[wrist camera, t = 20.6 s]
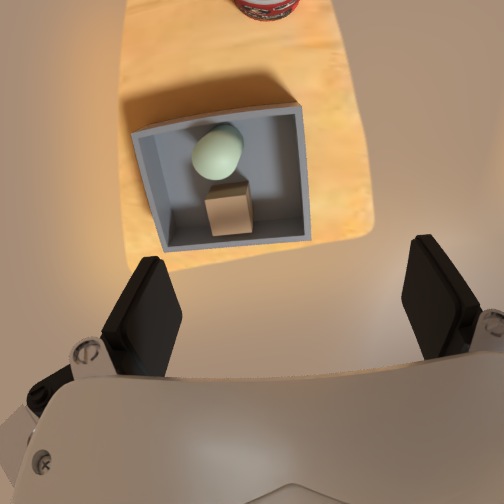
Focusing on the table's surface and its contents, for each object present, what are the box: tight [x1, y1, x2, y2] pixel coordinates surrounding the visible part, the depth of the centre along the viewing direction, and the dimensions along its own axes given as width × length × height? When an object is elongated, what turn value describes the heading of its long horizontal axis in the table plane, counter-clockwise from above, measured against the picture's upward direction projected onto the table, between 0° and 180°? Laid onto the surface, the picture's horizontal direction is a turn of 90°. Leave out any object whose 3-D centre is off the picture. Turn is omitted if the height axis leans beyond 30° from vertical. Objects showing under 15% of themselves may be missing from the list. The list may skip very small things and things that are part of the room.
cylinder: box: [192, 124, 244, 180], centre depth 35 cm, size 5×5×7 cm
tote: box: [131, 102, 311, 253], centre depth 38 cm, size 17×20×6 cm
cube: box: [205, 181, 254, 236], centre depth 40 cm, size 5×5×5 cm
